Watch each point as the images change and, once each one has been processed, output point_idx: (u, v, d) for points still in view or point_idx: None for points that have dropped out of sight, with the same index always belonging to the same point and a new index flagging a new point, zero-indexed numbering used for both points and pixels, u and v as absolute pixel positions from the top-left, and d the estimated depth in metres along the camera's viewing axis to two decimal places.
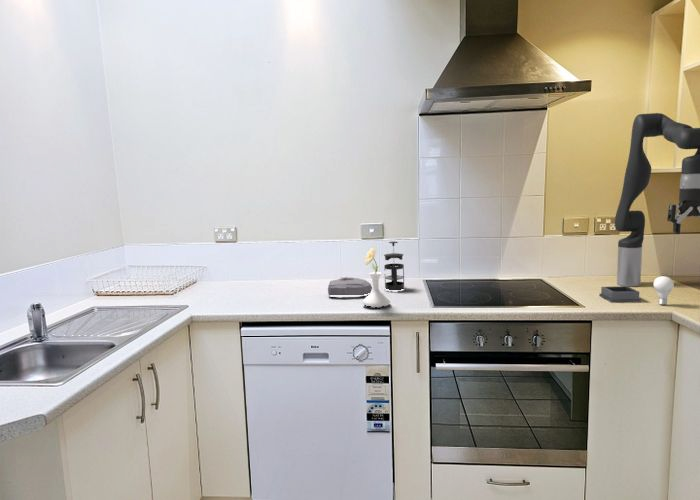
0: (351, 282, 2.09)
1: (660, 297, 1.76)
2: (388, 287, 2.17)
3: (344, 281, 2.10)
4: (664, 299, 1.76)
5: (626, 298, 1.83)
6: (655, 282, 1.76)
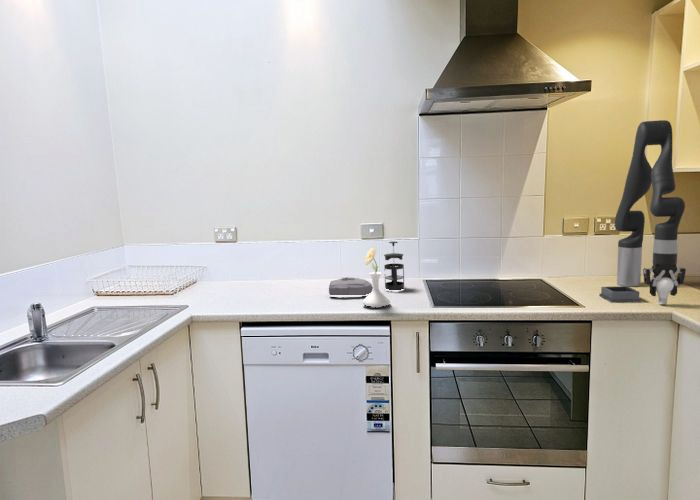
0: (352, 282, 2.09)
1: (660, 297, 1.76)
2: (388, 287, 2.17)
3: (345, 281, 2.10)
4: (664, 299, 1.76)
5: (626, 298, 1.83)
6: None
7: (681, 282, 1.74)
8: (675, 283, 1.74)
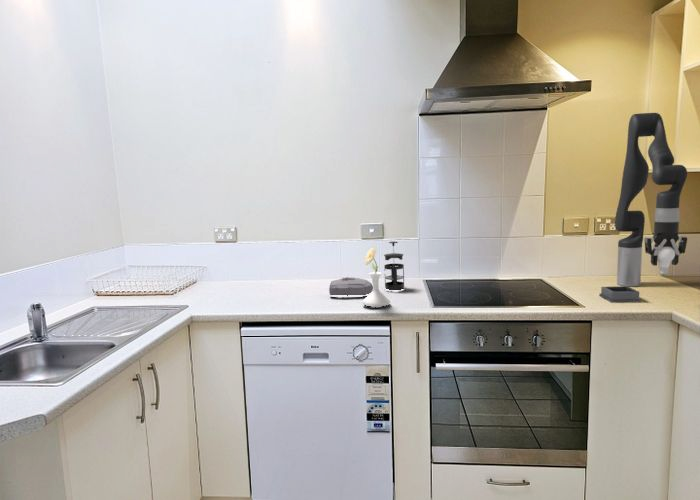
0: (352, 282, 2.09)
1: (661, 267, 1.75)
2: (388, 287, 2.17)
3: (345, 281, 2.10)
4: (665, 269, 1.74)
5: (626, 298, 1.83)
6: None
7: (682, 251, 1.73)
8: (676, 252, 1.73)
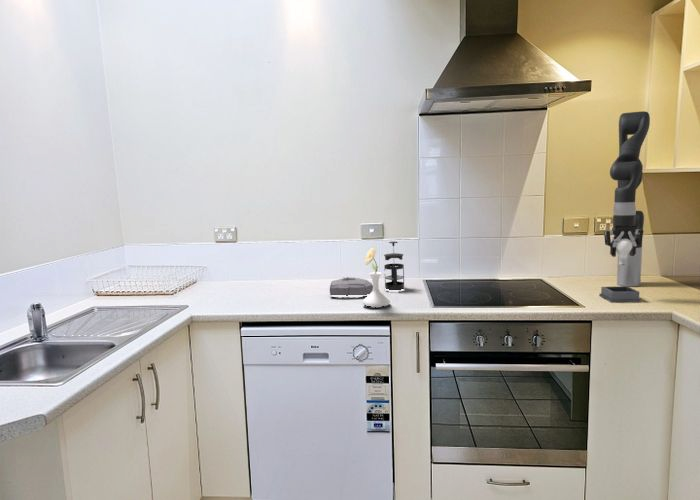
0: (353, 282, 2.09)
1: (620, 257, 1.85)
2: (388, 287, 2.17)
3: (346, 281, 2.10)
4: (623, 259, 1.85)
5: (626, 298, 1.83)
6: None
7: (639, 243, 1.83)
8: (634, 244, 1.83)
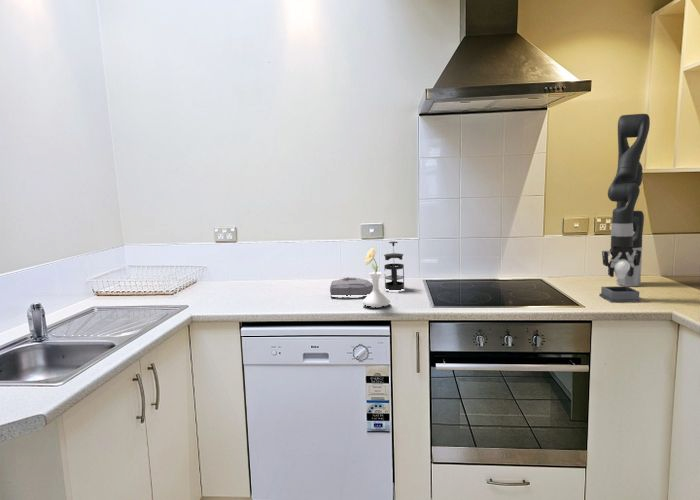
0: (353, 282, 2.09)
1: (618, 278, 1.86)
2: (388, 287, 2.17)
3: (346, 281, 2.10)
4: (621, 280, 1.86)
5: (626, 298, 1.83)
6: None
7: (637, 263, 1.84)
8: (631, 264, 1.85)
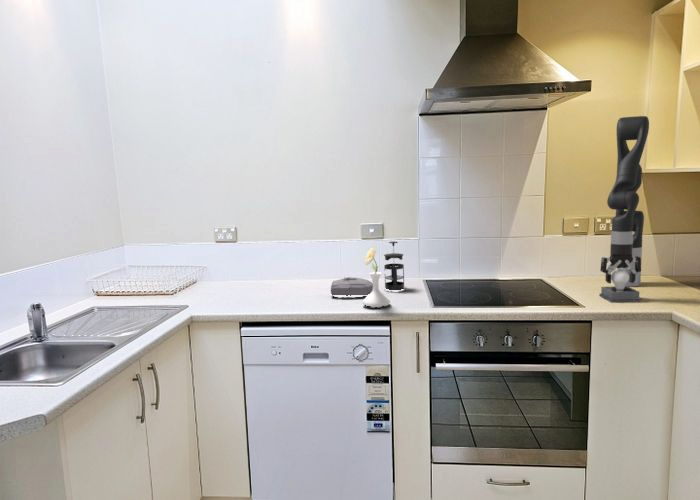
0: (354, 282, 2.09)
1: (617, 289, 1.87)
2: (388, 287, 2.17)
3: (347, 281, 2.10)
4: (621, 291, 1.87)
5: (626, 298, 1.83)
6: (612, 275, 1.87)
7: (639, 270, 1.85)
8: (633, 271, 1.85)
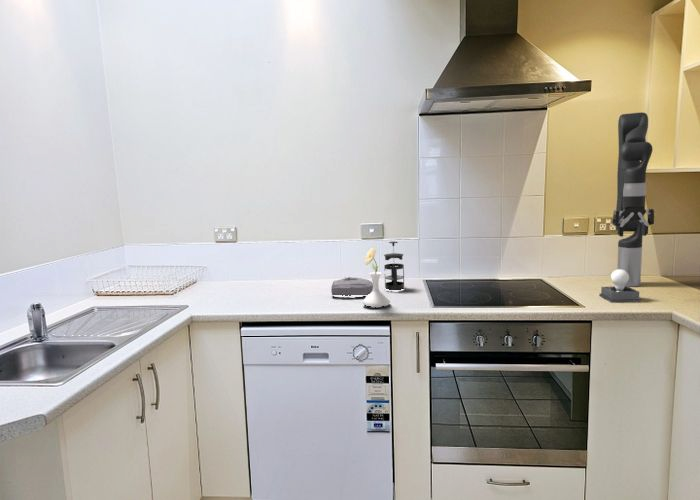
0: (354, 282, 2.08)
1: (617, 289, 1.87)
2: (388, 287, 2.17)
3: (347, 281, 2.10)
4: (620, 291, 1.87)
5: (626, 298, 1.83)
6: (612, 275, 1.87)
7: (652, 222, 1.83)
8: (646, 223, 1.83)
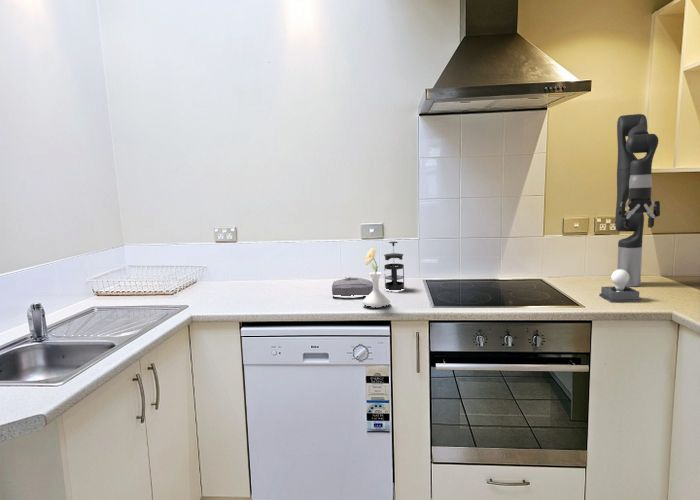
0: (355, 282, 2.08)
1: (617, 289, 1.87)
2: (388, 287, 2.17)
3: (348, 281, 2.10)
4: (621, 291, 1.87)
5: (626, 298, 1.83)
6: (612, 275, 1.87)
7: (657, 214, 1.83)
8: (652, 215, 1.83)
